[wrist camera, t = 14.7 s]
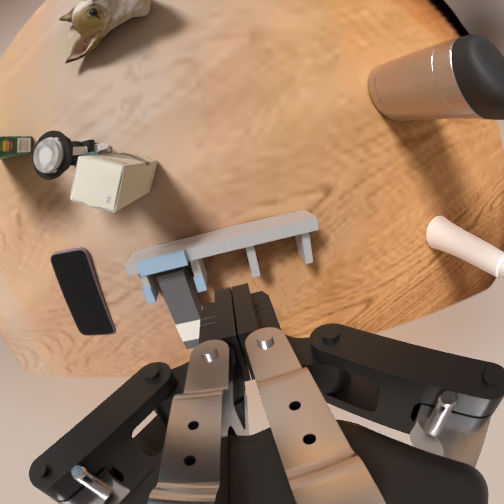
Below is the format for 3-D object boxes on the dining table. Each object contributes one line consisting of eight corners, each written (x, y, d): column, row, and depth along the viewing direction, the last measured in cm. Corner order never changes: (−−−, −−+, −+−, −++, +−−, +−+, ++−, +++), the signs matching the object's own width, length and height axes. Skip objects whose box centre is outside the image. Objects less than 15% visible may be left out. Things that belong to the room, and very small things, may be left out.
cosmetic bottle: (441, 250, 43) (527, 305, 22) (421, 244, 42) (515, 303, 21) (451, 220, 41) (543, 265, 21) (431, 211, 40) (533, 257, 19)
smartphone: (80, 335, 40) (48, 255, 34) (83, 331, 41) (51, 252, 35) (116, 333, 40) (85, 248, 34) (117, 329, 41) (88, 245, 35)
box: (159, 160, 33) (128, 165, 21) (150, 193, 34) (117, 215, 22) (122, 151, 32) (77, 153, 20) (114, 183, 33) (68, 201, 21)
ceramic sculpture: (156, -6, 18) (42, 58, 19) (171, 23, 26) (76, 70, 27) (141, -53, 14) (39, 4, 15) (156, -24, 22) (67, 22, 23)
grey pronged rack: (304, 208, 37) (319, 218, 32) (310, 249, 39) (325, 265, 34) (134, 250, 36) (121, 266, 31) (148, 289, 38) (139, 310, 33)
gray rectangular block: (161, 264, 38) (155, 277, 34) (186, 258, 38) (183, 270, 34) (188, 333, 42) (186, 349, 38) (210, 328, 42) (210, 344, 38)
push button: (108, 127, 30) (73, 121, 21) (111, 166, 32) (77, 172, 23) (67, 138, 29) (26, 138, 20) (70, 175, 31) (30, 185, 22)
